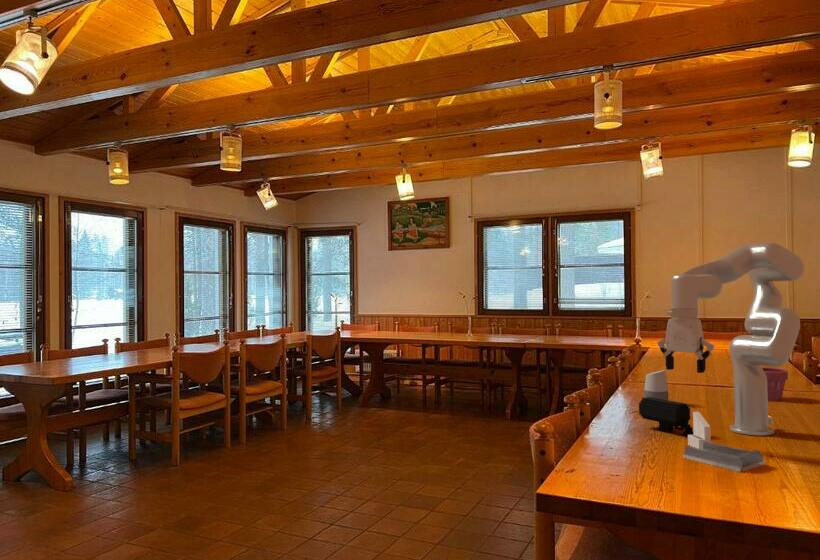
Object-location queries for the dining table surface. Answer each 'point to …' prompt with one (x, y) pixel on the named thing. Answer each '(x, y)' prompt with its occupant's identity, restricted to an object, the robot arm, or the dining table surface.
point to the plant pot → (775, 382)
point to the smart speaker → (656, 385)
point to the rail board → (725, 456)
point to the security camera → (667, 414)
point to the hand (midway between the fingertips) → (685, 371)
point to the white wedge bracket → (699, 431)
